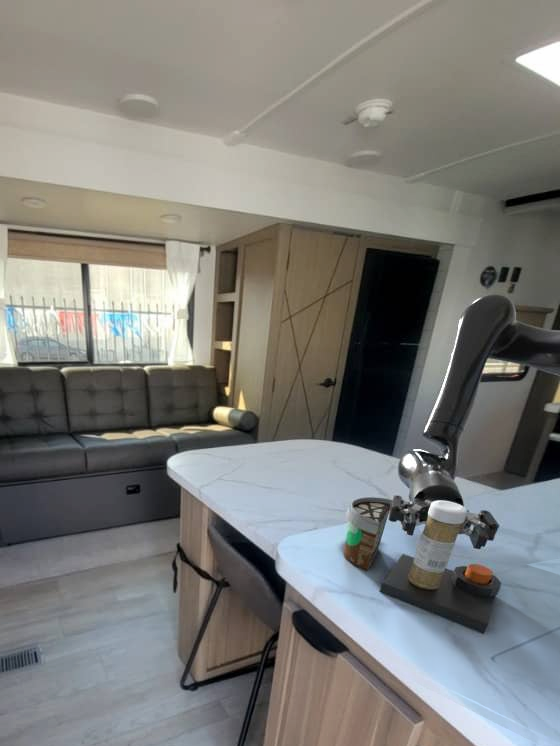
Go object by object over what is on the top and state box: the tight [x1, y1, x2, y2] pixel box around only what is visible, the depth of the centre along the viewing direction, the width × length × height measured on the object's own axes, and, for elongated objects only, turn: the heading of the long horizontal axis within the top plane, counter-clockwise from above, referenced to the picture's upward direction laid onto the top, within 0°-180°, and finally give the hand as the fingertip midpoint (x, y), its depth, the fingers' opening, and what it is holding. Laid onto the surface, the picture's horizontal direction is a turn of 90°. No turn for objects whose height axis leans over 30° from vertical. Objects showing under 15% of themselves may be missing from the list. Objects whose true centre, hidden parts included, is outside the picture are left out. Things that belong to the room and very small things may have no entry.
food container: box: [343, 496, 393, 572], centre depth 73 cm, size 12×6×10 cm, turn 145°
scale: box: [378, 553, 502, 635], centre depth 64 cm, size 14×12×4 cm
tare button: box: [465, 563, 494, 584], centre depth 63 cm, size 3×3×2 cm
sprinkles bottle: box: [408, 500, 468, 590], centre depth 61 cm, size 5×5×13 cm
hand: (444, 536), depth 58 cm, fingers open, 8 cm apart
